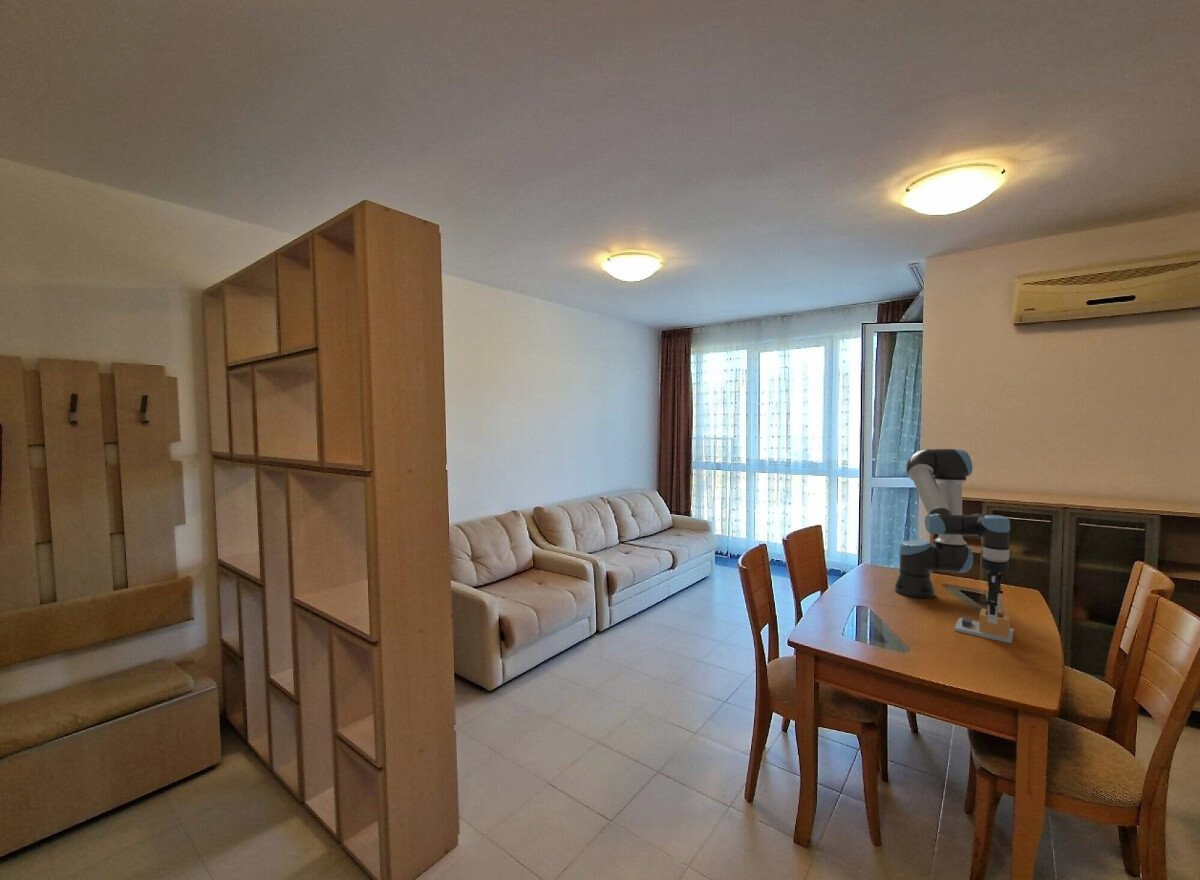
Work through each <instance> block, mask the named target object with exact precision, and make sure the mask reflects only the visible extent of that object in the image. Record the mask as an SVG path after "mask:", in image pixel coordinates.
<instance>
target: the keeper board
mask: <svg viewBox="0 0 1200 880" xmlns="http://www.w3.org/2000/svg"><path fill="white" fill-rule="evenodd" d="M998 617H999V612H998ZM954 631H955V632H959V633H964V634H968V635H971V636H977V637H981V638H985V639H988V640H989V639H990V640H993V641H994V640H995V641H998V642H999V641H1000V642H1003V643H1008V644H1011V645H1012V643H1013V639H1014V638H1013V637H1014V628H1011V627H1009V635H1008V637H1004V636H999V635H995V634H990V633H986V632H981V631H979V620H977V621H976V620H973V618H972V617H969V616H963V617H958V620H957V622H956V624H955V625H954Z"/></svg>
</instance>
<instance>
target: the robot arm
mask: <svg viewBox="0 0 1200 880" xmlns="http://www.w3.org/2000/svg"><path fill="white" fill-rule="evenodd" d="M906 473H907V476H908V478H909V479H910V480H912V481H913V483H914V485H915V488H916V491H917V493H918V495H919V497H920V501H921V502H922V504H923V506H924V509H925V511H926V513H927V514H926V515H925V517H924V525H925V526H924V527H925V530H926V532H928V533H929V534H934V535H938V536H937V537H935V538H934V544H933V543H931V542H930V541H929V540H926V539H911V540H910V539H909V540H904V541H901V543H900V544H899V551H898V554H899V574H898V577H897V579H896V582H895V584H894V591H895V592H896V593H898V594H900V595H902V596H906V597H910V598H916V599H932V598H934V597H935V596H936V590H935V586H934V585H933V582H932V578H931V572H942V573H943V572H944V573H954V574H956V573H960V574H961V573H968V572H969V571H970V570H971V568H972V567H973V562H974V554H973V549H972V548H971V547H970V546H969V545H967V544H968V543H967V541H966V540H965V539H963V536H972V537H973V536H977V537H981V539H982V542H981V543H982V547H980V548H979V549H980V551H982V552H981V553H982V559H981V568H982V569H984V570H985V571H988V573H987V578H986V579H987V587H988V591H987V594H988V595H987V601H985V604H984V605H987V609H988V619H987V622H989V623H994V624H997V621H998V611H999V612H1001V600H1002V599H1001V597H1002V596H1001V594H1002V595H1003V594H1004V590H1002V587H1001V585H1002V581H1003V575H1002V574H1001V573H1007V572H1009V569H1010V562H1009V560H1010V537H1011V535H1010V532H1011V524H1010V519H1009V517H1006V516H1005V515H997V514H986V515H984V514H980V513H974V514H971V515H963V484H964V483H965V482H966V481H967V477H969V476H971V474H972V473H973V462H972V458H971V456H970V454H969V453H968V452H967V451H966V450H964V449H962V448H961V449H958V448H957V449H956V448H944V449H943V448H931V449H930V448H924V449H920V450H918V451H916V452H915V453H913V454H912V455H911V456H910V457H909V459H908V461H907V463H906Z"/></svg>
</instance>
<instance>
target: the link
mask: <svg viewBox="0 0 1200 880" xmlns="http://www.w3.org/2000/svg"><path fill="white" fill-rule="evenodd" d="M998 612H999V611H998ZM978 614H979V616H978V617H979V620H978V622H979V631H981V632H986V633H990V634H995V635H999V636H1004V637H1008V635H1009V628H1010V627H1011V625H1010V620H1011V619H1010V616H1011V615H1010V614H1011V613H1008V612H1004V611H1000V612H999V617H998V621H997V624H994V623H989V622H987V619H988V608H983V607H982V608H981V609H980V611H979V613H978Z"/></svg>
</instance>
